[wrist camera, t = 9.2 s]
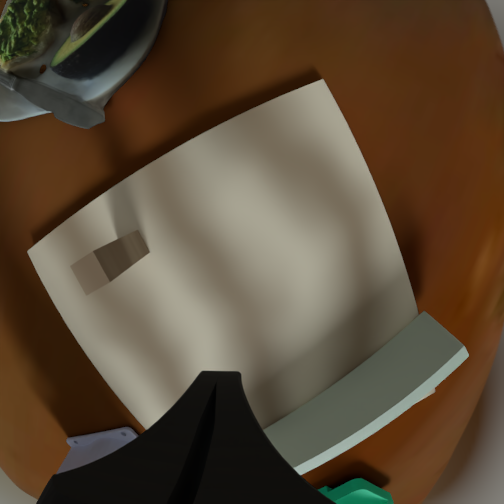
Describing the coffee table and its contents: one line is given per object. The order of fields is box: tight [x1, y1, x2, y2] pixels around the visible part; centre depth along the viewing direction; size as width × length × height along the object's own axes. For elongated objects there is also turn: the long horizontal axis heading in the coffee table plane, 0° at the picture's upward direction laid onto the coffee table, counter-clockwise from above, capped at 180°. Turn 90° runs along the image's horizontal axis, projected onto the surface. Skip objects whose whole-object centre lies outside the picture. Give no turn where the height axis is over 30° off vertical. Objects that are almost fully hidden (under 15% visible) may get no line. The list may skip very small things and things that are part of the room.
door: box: [263, 311, 469, 475], centre depth 17 cm, size 2×16×5 cm, turn 132°
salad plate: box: [0, 0, 168, 129], centre depth 13 cm, size 19×18×5 cm
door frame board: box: [27, 79, 435, 430], centre depth 16 cm, size 22×24×6 cm
